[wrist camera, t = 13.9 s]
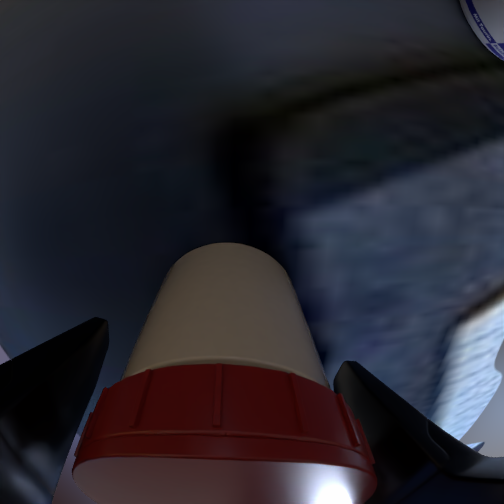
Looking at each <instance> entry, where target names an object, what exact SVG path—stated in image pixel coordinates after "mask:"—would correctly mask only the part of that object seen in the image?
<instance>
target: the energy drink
mask: <svg viewBox="0 0 504 504" xmlns="http://www.w3.org/2000/svg"><path fill="white" fill-rule="evenodd" d="M460 4H461V7H462V10H463V13H464V15H465V17H466V19H467V21H468V23H469V24H470V26H471V28H472V30H473V31H474V32H475V34H476V35H477V37H478V38H479V39H480V41H481V42H482V43H483V44H484V45H485V46H486V47H487V48H488V50H490V51H491V52H492V53H493V54H495V55H496V56H497V57H499V58H500V59H502V60H504V0H460Z"/></svg>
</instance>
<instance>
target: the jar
mask: <svg viewBox="0 0 504 504" xmlns="http://www.w3.org/2000/svg"><path fill="white" fill-rule="evenodd" d="M216 363H222V364H234V365H244V366H255V367H261V368H267V369H273V370H279V371H283V372H287V373H290V372H292V373H295V374H296V375H298V376H301V377H304V378H307V379H309V380H312V381H315V382H317V383H319V384H321V385H324V386H325V387H327V388H329V389H330V386H329V383H328V380H327V377H326V374H325V372H324V369H323V366H322V363H321V360H320V357H319V355H318V352H317V349H316V346H315V344H314V341H313V338H312V335H311V333H310V330H309V327H308V324H307V322H306V319H305V316H304V314H303V311H302V308H301V305H300V303H299V300H298V297H297V295H296V292H295V290H294V287H293V284H292V282H291V280H290V278H289V276H288V274H287V273H286V271H285V270H284V268H283V267H282V266H281V265H280V264H279V263H278V262H277V261H276V260H275V259H273V258H272V257H271V256H269V255H268V254H266V253H264V252H263V251H261V250H258V249H256V248H254V247H251V246H247V245H243V244H237V243H215V244H209V245H205V246H202V247H199V248H197V249H194V250H192V251H190V252H189V253H187V254H185V255H184V256H183V257H181V258H180V259H179V260H178V261H177V262H176V263H175V264H174V265H173V266H172V267H171V268H170V270H169V271H168V273H167V275H166V276H165V278H164V280H163V282H162V285H161V287H160V289H159V291H158V293H157V295H156V297H155V299H154V302H153V304H152V306H151V308H150V310H149V313H148V315H147V317H146V319H145V322H144V324H143V326H142V328H141V331H140V333H139V335H138V338H137V340H136V342H135V345H134V347H133V349H132V352H131V354H130V356H129V359H128V361H127V364H126V366H125V369H124V371H123V374H122V376H121V379H120V381H121V380H123V379H125V378H126V377H129V376H132V375H135V374H138V373H140V372H143V371H145V370H146V369H151V370H153V369H157V368H161V367H167V366H177V365H188V364H216Z"/></svg>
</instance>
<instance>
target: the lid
mask: <svg viewBox="0 0 504 504" xmlns="http://www.w3.org/2000/svg"><path fill="white" fill-rule="evenodd" d="M74 456H75V457H76V459H75V462H74V465H73V468H72V475H73V479H74V481H75V483H76V484H77V486H78V487H79V488H80V489H81V491H82V492H84V493H85V494H86V495H87V496H88V497H89V498H91V499H92V500H93V501H95V502H96V503H97V504H364V503H365V502H366V501H367V500H368V499H369V498H370V497H371V496H372V495H373V493H374V492H375V490H376V487H377V477H376V474H375V471H374V468H373V466H372V465H373V464H375V460H374V458H373V455H372V452H371V449H370V447H369V444H368V441H367V439H366V436H365V434H364V431H363V428H362V426H361V423H360V421H359V419H355V417H354V414H353V412H352V410H351V408H350V407H349V405H348V404H347V403H346V402H345V400H344V397H343V395H342V394H341V393H339V394H336V393H335V392H333V391H332V390H331V389H329V388H327V387H325V386H324V385H321V384H319V383H317V382H315V381H312V380H309V379H307V378H304V377H301V376H298V375H296V374H295V373H292V372H290V373H287V372H283V371H279V370H273V369H267V368H261V367H255V366H244V365H234V364H222V363H216V364H188V365H177V366H167V367H161V368H157V369H153V370H151V369H146V370H145V371H143V372H140V373H138V374H135V375H132V376H129V377H126V378H125V379H123V380H121V381H119V382H117V383H115V384H114V385H113V386H111V387H110V388H109V389H108V388H106V387H105V388H104V389H103V391H102V393H101V396H100V398H99V400H98V402H97V404H96V407H95V409H94V412H93V413H92V412H90V415H89V417H88V420H87V422H86V425H85V427H84V430H83V432H82V435H81V438H80V440H79V443H78V446H77V448H76V451H75V454H74Z"/></svg>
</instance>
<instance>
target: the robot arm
mask: <svg viewBox="0 0 504 504" xmlns="http://www.w3.org/2000/svg"><path fill="white" fill-rule="evenodd" d="M108 346H109V328H108V321H107V320H105V319H102V318H98V317H94V318H92V319H90V320H88V321H86V322H84V323H82V324H80V325H78V326H76V327H74V328H72V329H70V330H68V331H66V332H64V333H62V334H60V335H58V336H56V337H54V338H52V339H50V340H48V341H46V342H44V343H42V344H40V345H38V346H36V347H34V348H32V349H30V350H28V351H26V352H24V353H22V354H20V355H19V356H17V357H15V358H13V359H12V361H11V360H9V361H7V362H5V363H3V364H1V365H0V504H52V500H53V497H54V496H53V495H54V493H55V490H56V487H57V484H58V481H59V478H60V475H61V472H62V469H63V467H64V464H65V461H66V458H67V456H68V453H69V450H70V448H71V445H72V442H73V440H74V437H75V435H76V432H77V430H78V427H79V425H80V422H81V420H82V417H83V415H84V413H85V410H86V408H87V406H88V403H89V401H90V399H91V396H92V394H93V392H94V389H95V387H96V384H97V381H98V377H99V374H100V371H101V368H102V365H103V362H104V359H105V356H106V353H107V350H108ZM333 386H334V392H335V393H336V394H339V393H341V394H342V395H343V397H344V400H345V402H346V403H347V404H348V405H349V407H350V408H351V410H352V412H353V414H354V417H355V419H359V421H360V423H361V426H362V428H363V431H364V434H365V436H366V439H367V441H368V444H369V447H370V449H371V452H372V455H373V458H374V460H375V464H373V465H372V466H373V468H374V471H375V474H376V477H377V487H376V490H375V492H374V493H373V495H372V496H371V497H370V498H369V499H368V500H367V501H366V502H365V503H364V504H504V457H487V456H484V455H481V454H480V453H478V452H476V451H475V450H473V449H471V448H470V447H468V446H467V445H465V444H463V443H462V442H460V441H459V440H457V439H456V438H454V437H453V436H451V435H450V434H448V433H447V432H445V431H444V430H443V429H441V428H440V427H439V426H437V425H436V424H435V423H433V422H432V421H431V420H429V419H427V417H426V416H424V415H423V414H422V413H420V412H419V411H418V410H417V409H415V408H414V407H413V406H411V405H410V404H409V403H408V402H406V401H405V400H404V399H403V398H401V397H400V396H399V395H398V394H396V393H395V392H394V391H393V390H391V389H390V388H389V387H388V386H386V385H385V384H384V383H383V382H381V381H380V380H379V379H378V378H376V377H375V376H374V375H373V374H371V373H370V372H369V371H368V370H366V369H365V368H364V367H363V366H361V365H360V364H359V363H358V362H356V361H345V362H343V364H342V365H341V367H340V369H339V371H338V373H337V374H336V376H335V378H334V382H333Z"/></svg>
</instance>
